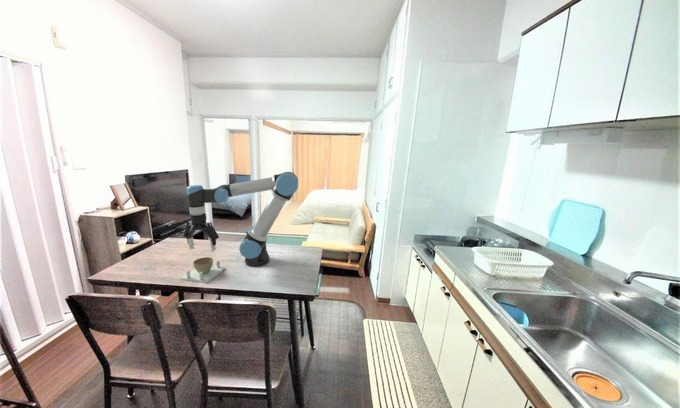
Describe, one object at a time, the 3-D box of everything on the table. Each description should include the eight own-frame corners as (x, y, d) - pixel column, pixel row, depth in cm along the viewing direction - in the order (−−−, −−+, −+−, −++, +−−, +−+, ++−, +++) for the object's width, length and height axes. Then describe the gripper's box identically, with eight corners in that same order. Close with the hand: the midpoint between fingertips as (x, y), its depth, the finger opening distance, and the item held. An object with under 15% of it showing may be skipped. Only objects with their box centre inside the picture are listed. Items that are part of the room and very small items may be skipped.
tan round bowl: (205, 277, 131) (204, 265, 130) (190, 275, 133) (188, 263, 132) (218, 269, 141) (217, 258, 139) (203, 267, 143) (202, 256, 141)
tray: (225, 268, 144) (224, 261, 143) (207, 282, 128) (206, 274, 127) (201, 266, 146) (201, 258, 145) (181, 279, 131) (180, 271, 130)
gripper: (223, 212, 131) (226, 248, 136) (183, 210, 135) (188, 245, 139) (214, 216, 124) (218, 254, 129) (172, 214, 127) (177, 250, 132)
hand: (202, 249), depth 134 cm, fingers open, 13 cm apart
